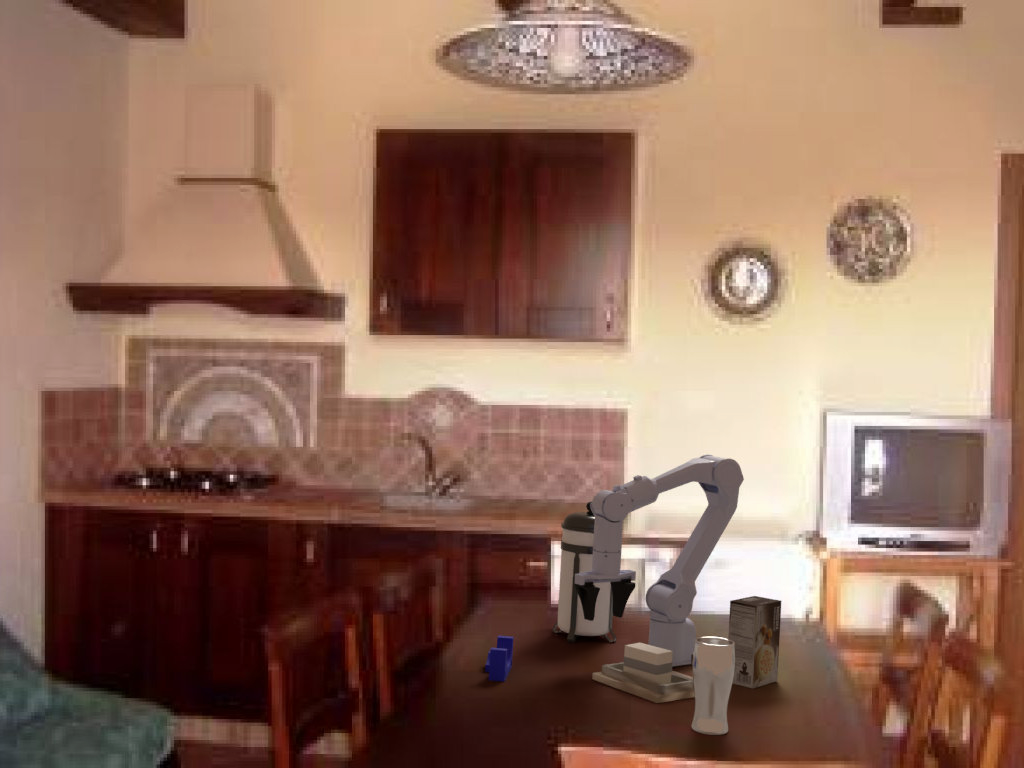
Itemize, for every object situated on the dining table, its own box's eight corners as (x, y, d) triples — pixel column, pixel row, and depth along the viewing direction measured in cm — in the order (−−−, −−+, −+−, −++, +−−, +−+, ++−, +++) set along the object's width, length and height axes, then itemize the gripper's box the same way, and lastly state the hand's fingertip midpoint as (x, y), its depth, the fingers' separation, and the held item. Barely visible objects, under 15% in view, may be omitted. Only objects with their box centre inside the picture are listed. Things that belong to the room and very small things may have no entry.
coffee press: (631, 636, 277) (639, 502, 277) (597, 648, 264) (605, 507, 263) (564, 624, 286) (571, 494, 286) (528, 635, 273) (535, 498, 272)
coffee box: (749, 675, 248) (754, 594, 248) (778, 681, 244) (783, 600, 243) (724, 682, 241) (729, 599, 241) (753, 689, 237) (758, 605, 237)
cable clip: (489, 665, 245) (490, 635, 245) (511, 667, 245) (513, 636, 245) (480, 680, 233) (482, 648, 233) (504, 682, 233) (506, 650, 233)
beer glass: (684, 722, 212) (689, 635, 212) (724, 724, 213) (729, 636, 212) (694, 735, 205) (699, 645, 205) (735, 736, 206) (740, 646, 205)
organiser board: (653, 670, 247) (655, 633, 247) (719, 692, 233) (721, 653, 233) (592, 679, 238) (594, 640, 238) (657, 703, 223) (659, 662, 223)
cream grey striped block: (638, 673, 239) (639, 642, 239) (671, 682, 233) (673, 651, 233) (622, 676, 236) (624, 645, 236) (655, 686, 230) (657, 654, 230)
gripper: (621, 545, 257) (617, 611, 257) (566, 549, 248) (562, 617, 248) (644, 551, 251) (640, 618, 251) (589, 554, 242) (585, 624, 243)
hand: (603, 618), depth 249 cm, fingers open, 7 cm apart
